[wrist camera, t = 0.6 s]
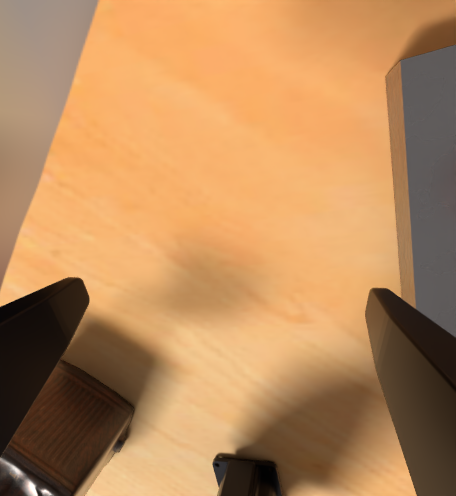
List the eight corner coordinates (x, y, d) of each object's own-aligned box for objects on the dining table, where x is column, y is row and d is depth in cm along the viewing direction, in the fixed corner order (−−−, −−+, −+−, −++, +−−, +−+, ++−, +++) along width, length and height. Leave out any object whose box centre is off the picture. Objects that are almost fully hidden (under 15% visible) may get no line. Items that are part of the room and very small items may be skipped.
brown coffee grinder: (114, 464, 35) (-66, 749, 18) (38, 414, 36) (-201, 639, 19) (159, 376, 29) (-41, 669, 12) (68, 320, 30) (-233, 519, 13)
